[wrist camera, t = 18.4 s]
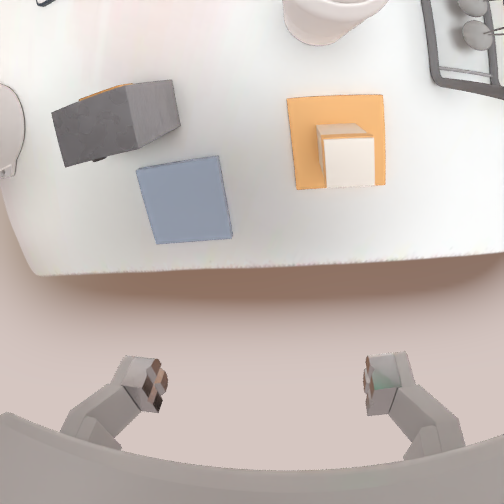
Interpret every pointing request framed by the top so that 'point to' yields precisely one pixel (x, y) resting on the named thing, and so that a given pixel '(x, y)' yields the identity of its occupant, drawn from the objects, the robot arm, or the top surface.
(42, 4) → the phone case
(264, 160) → the top surface
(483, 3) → the newton's cradle
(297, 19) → the water bottle
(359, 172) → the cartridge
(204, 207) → the blue pad
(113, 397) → the robot arm
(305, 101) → the orange pad
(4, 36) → the top surface
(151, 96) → the control box
